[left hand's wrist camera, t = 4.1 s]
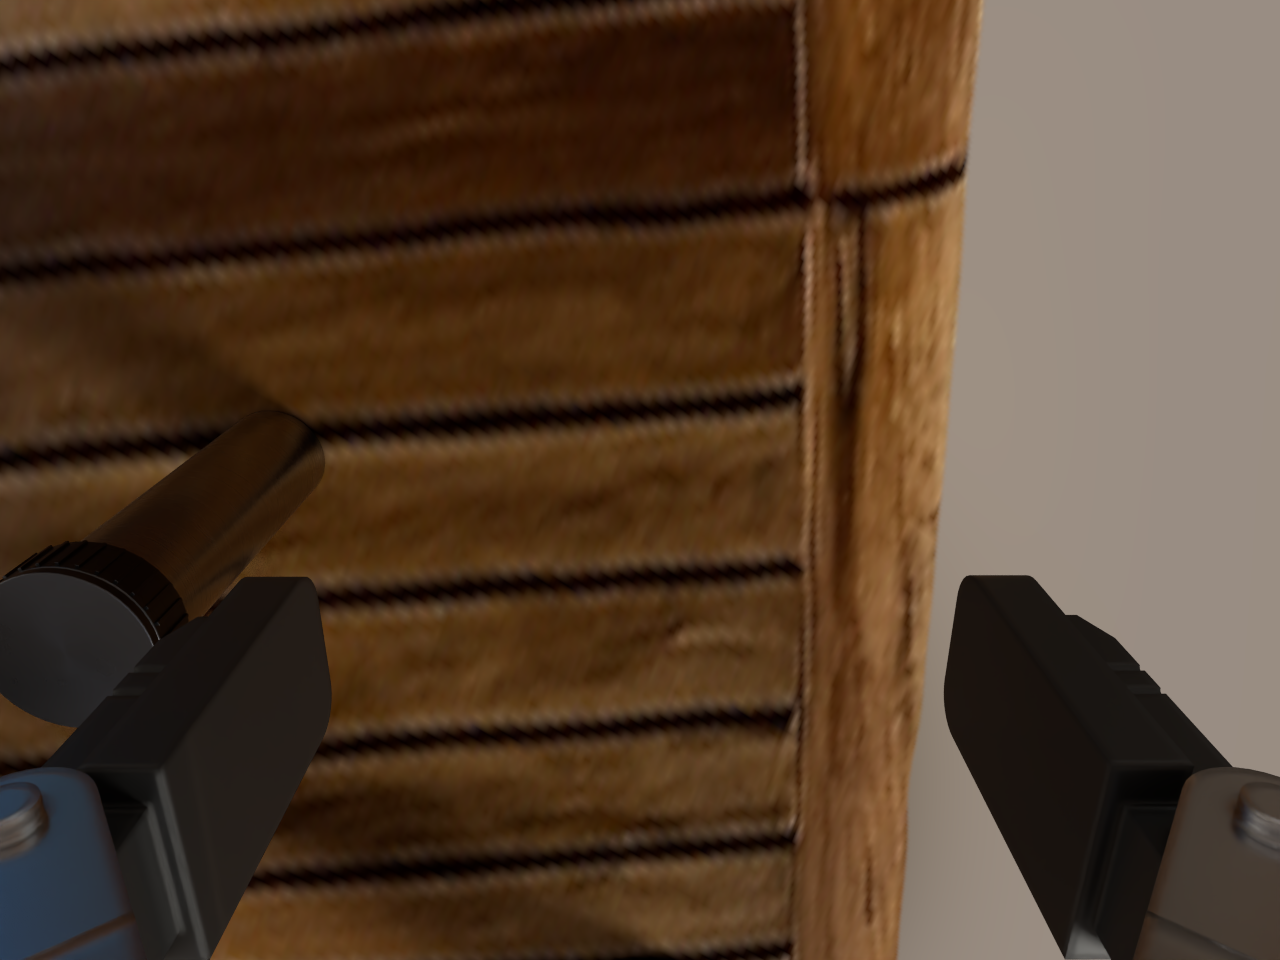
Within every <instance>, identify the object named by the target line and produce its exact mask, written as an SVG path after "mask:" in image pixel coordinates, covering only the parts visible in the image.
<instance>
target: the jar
mask: <svg viewBox="0 0 1280 960" xmlns="http://www.w3.org/2000/svg"><path fill="white" fill-rule="evenodd" d="M324 465H325V463H324V453H323V450H322V447H321V445H320V442H319V440H318V439H317V437H316V436H315V434H314V433H313V432H312V431H311V430H310V429H309V428H308V426H306V425H305V424H304V423H303V422H301V421H300V420H298V419H297V418H295V417H293V416H291V415H288V414H285V413H281V412H276V411H261V412H256V413H252V414H250V415H248V416H246V417H244V418H243V419H241V420H240V421H239V422H237V423H236V424H235V425H233V426H232V427H231V428H229V429H228V430H227V431H225V432H224V433H223V434H221V435H220V436H219V437H217V438H216V439H215V440H214V441H212V442H211V443H210V444H208V445H207V446H206V447H204V448H203V449H202V450H200V451H199V452H198V453H196V454H195V455H194V456H192V457H191V458H190V459H188V460H187V461H186V462H184V463H183V464H182V465H180V466H179V467H178V468H177V469H175V470H174V471H173V472H171V473H170V474H169V475H167V476H166V477H165V478H163V479H162V480H161V481H159V482H158V483H157V484H155V485H154V486H153V487H151V488H150V489H149V490H147V491H146V492H145V493H143V494H142V495H141V496H140V497H138V498H137V499H136V500H134V501H133V502H132V503H130V504H129V505H128V506H126V507H125V508H124V509H122V510H121V511H120V512H118V513H117V514H116V515H114V516H113V517H112V518H110V519H109V520H108V521H106V522H105V523H104V524H103V525H101V526H100V527H99V528H97V529H96V530H95V531H93V532H92V533H91V534H89V535H88V536H87V537H85V538H84V539H83V540H81V541H80V542H82V541H84V540H88V541H89V542H99V543H103V542H104V543H107V544H109V545H113V546H116V547H119V548H124V549H126V550H127V551H129V552H132V553H134V554H136V555H138V556H139V557H142V558H144V560H146V561H147V562H149V563H150V564H152V565H153V566H154V567H156V568H157V569H158V570H160V572H161V573H162V574H163V575H164V576H165V577H166V578H167V579H168V580H169V581H170V582H171V583H172V584H173V586H174V588H175V589H176V591H177V592H178V594H179V596H180V597H181V598H182V601H183V603H184V606H185V609H186V611H187V613H188V615H189V617H188V620H189V622H190V621H191V620H193V619H195V618H196V617H202V616H203V615H204V614H205V613H206V612H207V611H208V610H209V608H210V607H211V606H212V605H213V604H214V603H215V602H216V600H217V599H218V598H219V597H220V596H221V595H222V594H223V592H224V591H225V590H226V589H227V588H228V587H229V586H230V585H231V583H232V582H233V581H234V580H235V579H236V578H237V577H238V575H239V574H240V573H241V572H242V571H243V570H244V569H245V567H246V566H247V565H248V564H249V563H250V562H251V561H252V559H253V558H254V557H255V556H256V555H257V554H258V553H259V551H260V550H261V549H262V548H263V547H264V546H265V545H266V543H267V542H268V541H269V540H270V539H271V538H272V537H273V535H274V534H275V533H276V532H277V531H278V530H279V529H280V528H281V526H282V525H283V524H284V523H285V522H286V521H287V520H288V518H289V517H290V516H291V515H292V514H293V513H294V512H295V510H296V509H297V508H298V507H299V506H300V505H301V504H302V502H303V501H304V500H305V499H306V498H307V497H308V496H309V494H310V493H311V492H312V491H313V490H314V489H315V488H316V486H317V485H318V484H319V482H320V480H321V478H322V476H323V472H324Z"/></svg>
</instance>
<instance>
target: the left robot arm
mask: <svg viewBox="0 0 1280 960" xmlns="http://www.w3.org/2000/svg"><path fill="white" fill-rule="evenodd" d="M944 706H945V713H946V719H947V723H948V726H949V729H950V732H951V735H952V737H953V739H954V741H955V743H956V745H957V747H958V749H959V751H960V753H961V755H962V756H963V759H964V761H965V763H966V764H967V766H968V768H969V770H970V772H971V774H972V776H973V778H974V780H975V782H976V784H977V786H978V788H979V790H980V792H981V794H982V796H983V798H984V800H985V802H986V804H987V806H988V808H989V810H990V812H991V814H992V816H993V818H994V820H995V822H996V824H997V826H998V828H999V830H1000V832H1001V834H1002V836H1003V838H1004V840H1005V842H1006V844H1007V846H1008V848H1009V850H1010V852H1011V853H1012V856H1013V858H1014V859H1015V861H1016V863H1017V865H1018V867H1019V869H1020V871H1021V873H1022V875H1023V877H1024V879H1025V881H1026V883H1027V885H1028V887H1029V889H1030V891H1031V893H1032V895H1033V897H1034V899H1035V901H1036V903H1037V905H1038V907H1039V909H1040V911H1041V913H1042V915H1043V917H1044V919H1045V921H1046V923H1047V925H1048V927H1049V929H1050V931H1051V933H1052V935H1053V937H1054V939H1055V941H1056V943H1057V945H1058V947H1059V948H1060V950H1061V952H1062V954H1063V956H1064V958H1065V959H1111V960H1280V777H1278V776H1274V775H1271V774H1268V773H1264V772H1260V771H1255V770H1251V769H1244V768H1236V767H1232V766H1231V765H1230V763H1229V762H1228V761H1227V760H1226V759H1225V758H1224V757H1223V756H1222V755H1221V754H1220V752H1219V751H1218V750H1217V749H1216V748H1215V747H1214V746H1213V745H1212V744H1211V743H1210V742H1209V740H1208V739H1207V738H1206V737H1205V736H1204V735H1203V734H1202V733H1201V732H1200V731H1199V730H1198V728H1197V727H1196V726H1195V725H1194V724H1193V723H1192V722H1191V721H1190V720H1189V719H1188V717H1187V716H1186V715H1185V714H1184V713H1183V712H1182V711H1181V710H1180V709H1179V708H1178V707H1177V705H1176V704H1175V703H1174V702H1173V701H1172V700H1171V699H1170V698H1169V697H1168V696H1167V694H1161V692H1160V687H1159V686H1158V685H1157V684H1156V682H1155V681H1154V680H1153V679H1152V678H1151V677H1150V676H1149V675H1148V674H1147V673H1146V672H1145V671H1140V665H1139V664H1138V663H1137V662H1136V661H1135V659H1134V658H1133V657H1132V656H1131V655H1130V654H1129V653H1128V652H1127V651H1126V650H1125V649H1124V647H1123V646H1122V645H1121V644H1120V643H1119V642H1118V641H1117V640H1116V639H1115V638H1114V637H1112V636H1111V635H1109V634H1107V633H1106V632H1104V631H1102V630H1101V629H1099V628H1097V627H1096V626H1094V625H1092V624H1091V623H1089V622H1087V621H1086V620H1084V619H1082V618H1081V617H1079V616H1077V615H1065V614H1064V613H1063V612H1062V610H1061V609H1060V608H1059V607H1058V606H1057V605H1056V603H1055V602H1054V601H1053V600H1052V599H1051V598H1050V596H1049V595H1048V594H1047V593H1046V592H1045V591H1044V589H1043V588H1042V587H1041V586H1040V585H1039V584H1038V582H1037V581H1036V580H1035V579H1034V578H1033V577H1031V576H1027V575H969V576H966V577H965V578H964V579H963V581H962V582H961V585H960V588H959V591H958V596H957V602H956V609H955V615H954V622H953V629H952V635H951V642H950V648H949V655H948V662H947V668H946V675H945V682H944ZM330 710H331V681H330V674H329V668H328V661H327V655H326V648H325V642H324V635H323V629H322V622H321V616H320V609H319V602H318V596H317V592H316V588H315V586H314V584H313V582H312V581H311V579H309V578H308V577H245V578H243V579H241V580H240V581H239V582H238V583H237V584H236V586H235V587H234V588H233V589H232V590H231V591H230V593H229V594H228V595H227V596H226V597H225V598H224V599H223V601H222V602H221V603H220V604H219V605H218V606H217V608H216V609H215V610H214V611H213V612H212V613H211V615H210V616H209V617H196V618H195V619H193V620H191V621H190V622H188V623H186V624H185V625H183V626H181V627H180V628H178V629H176V630H175V631H173V632H171V633H170V634H168V635H166V636H165V637H163V638H161V639H160V640H158V642H157V643H156V644H155V645H154V646H153V647H152V648H151V649H150V650H149V651H148V652H147V654H146V655H145V656H144V657H143V658H142V659H141V660H140V661H139V662H138V663H137V664H136V665H135V667H134V672H133V673H128V674H127V675H126V676H125V677H124V678H123V680H122V681H121V682H120V683H119V684H118V685H117V686H116V687H115V688H114V689H113V695H112V696H107V697H106V698H105V699H104V700H103V701H102V702H101V703H100V704H99V706H98V707H97V708H96V709H95V710H94V711H93V712H92V713H91V714H90V715H89V716H88V717H87V719H86V720H85V721H84V722H83V723H82V724H81V725H80V726H79V727H78V728H77V729H76V731H75V732H74V733H73V734H72V735H71V736H70V737H69V738H68V739H67V740H66V741H65V742H64V744H63V745H62V746H61V747H60V748H59V749H58V750H57V751H56V752H55V753H54V754H53V755H52V757H51V758H50V759H49V760H48V761H47V762H46V763H45V764H44V765H43V766H42V767H41V768H36V769H29V770H25V771H20V772H15V773H12V774H9V775H6V776H2V777H0V960H210V958H211V956H212V954H213V952H214V950H215V948H216V946H217V944H218V942H219V940H220V938H221V937H222V935H223V933H224V931H225V929H226V927H227V925H228V923H229V921H230V919H231V917H232V915H233V913H234V911H235V909H236V907H237V905H238V903H239V901H240V899H241V897H242V895H243V894H244V892H245V890H246V888H247V886H248V884H249V882H250V880H251V878H252V876H253V874H254V872H255V870H256V868H257V866H258V864H259V862H260V860H261V858H262V856H263V854H264V852H265V850H266V849H267V847H268V845H269V843H270V841H271V839H272V837H273V835H274V833H275V831H276V829H277V827H278V825H279V823H280V821H281V819H282V817H283V815H284V813H285V811H286V809H287V807H288V806H289V804H290V802H291V800H292V798H293V796H294V794H295V792H296V790H297V788H298V786H299V784H300V782H301V780H302V778H303V776H304V774H305V772H306V770H307V768H308V766H309V764H310V763H311V761H312V759H313V757H314V755H315V753H316V751H317V749H318V747H319V745H320V743H321V741H322V739H323V737H324V735H325V732H326V729H327V726H328V722H329V717H330Z"/></svg>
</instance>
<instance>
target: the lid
mask: <svg viewBox="0 0 1280 960" xmlns="http://www.w3.org/2000/svg"><path fill="white" fill-rule="evenodd" d="M188 617H189V615H188V613H187V611H186V609H185V606H184V603H183V601H182V598H181V597H180V596H179V594H178V592H177V591H176V589H175V588H174V586H173V584H172V583H171V582H170V581H169V580H168V579H167V578H166V577H165V576H164V575H163V574H162V573H161V572H160V570H158V569H157V568H156V567H154V566H153V565H152V564H150V563H149V562H147V561H146V560H144V558H142V557H139V556H138V555H136V554H134V553H132V552H129V551H127V550H126V549H124V548H119V547H116V546H113V545H109V544H107V543H104V542H103V543H99V542H89V541H88V540H84V541H82V542H70V543H69V541H65V542H64V543H63V544H61V545H57V546H54V547H52V545H50V546H48V547H47V548H45V549H44V550H42V551H41V552H40V553H38V554H37V553H35V554H34V555H32V556H31V557H29V558H28V559H27V560H25V561H24V562H22V563H21V564H20V565H18V566H17V567H16V568H14V569H13V570H11V571H10V572H9V573H7V574H6V575H4V576H3V579H2V580H0V693H1V694H2V695H3V696H4V697H5V698H7V699H8V700H9V701H11V702H12V703H13V704H14V705H16V706H18V707H19V708H21V709H22V710H24V711H26V712H28V713H29V714H31V715H33V716H35V717H38V718H40V719H43V720H45V721H48V722H51V723H55V724H58V725H63V726H68V727H77V728H78V727H79V726H80V725H81V724H82V723H83V722H84V721H85V720H86V719H87V717H88V716H89V715H90V714H91V713H92V712H93V711H94V710H95V709H96V708H97V707H98V706H99V704H100V703H101V702H102V701H103V700H104V699H105V698H106V697H107V696H112V695H113V689H114V688H115V687H116V686H117V685H118V684H119V683H120V682H121V681H122V680H123V678H124V677H125V676H126V675H127V674H128V673H133V672H134V667H135V665H136V664H137V663H138V662H139V661H140V660H141V659H142V658H143V657H144V656H145V655H146V654H147V652H148V651H149V650H150V649H151V648H152V647H153V646H154V645H155V644H156V643H157V642H158V640H160V639H161V638H163V637H165V636H166V635H168V634H170V633H171V632H173V631H175V630H176V629H178V628H180V627H181V626H183V625H185V624H186V623H188V622H189V620H188Z"/></svg>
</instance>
